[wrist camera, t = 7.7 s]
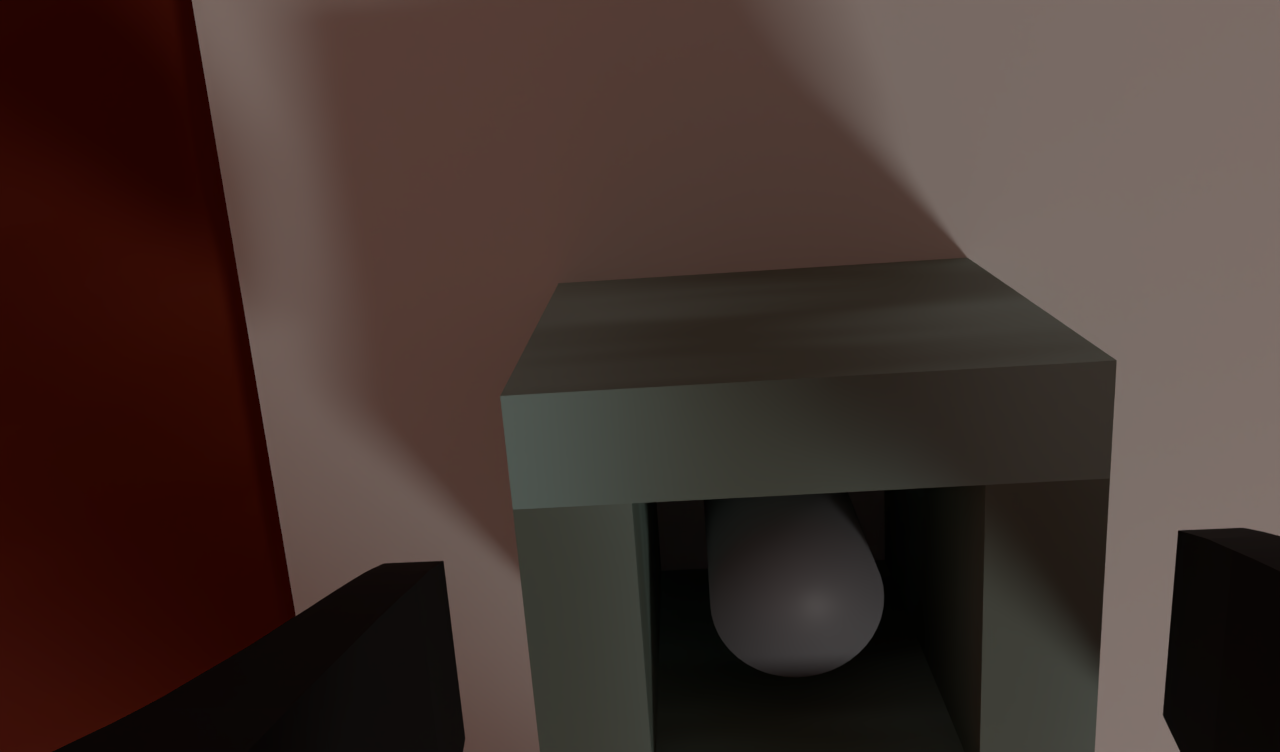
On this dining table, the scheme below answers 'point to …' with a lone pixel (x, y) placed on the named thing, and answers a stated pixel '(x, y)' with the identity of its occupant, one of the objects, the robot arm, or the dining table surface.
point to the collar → (813, 464)
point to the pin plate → (740, 267)
